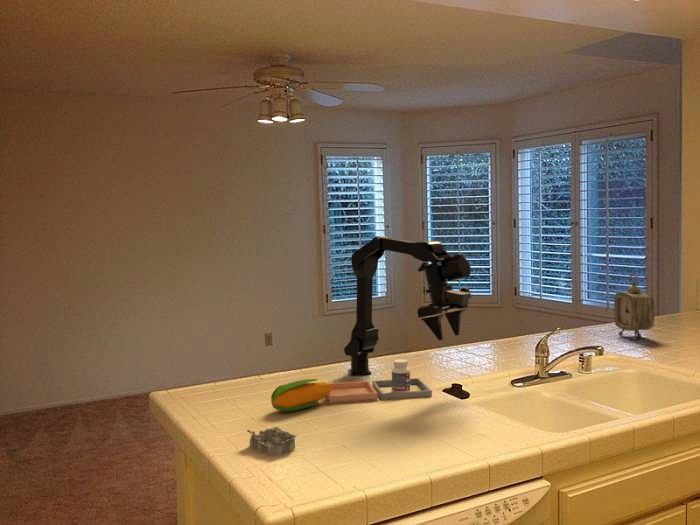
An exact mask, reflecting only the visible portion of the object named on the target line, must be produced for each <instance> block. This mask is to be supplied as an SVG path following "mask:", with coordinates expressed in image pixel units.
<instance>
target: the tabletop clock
mask: <svg viewBox="0 0 700 525" xmlns="http://www.w3.org/2000/svg"><path fill="white" fill-rule="evenodd" d="M632 277H635V278H636V279H637V283H636V281H635V280H634V281H631V278H632ZM628 282H629V284H631V286H629V287H628V288H627V289H626V292H625V291H624V292H616V293H615V296H614V303H613V304H614V306H613V312H614V313H613V314H614V315H613V317H614V324H615V325H616V327H617V328H618V329H620V331H618V335H619V336H623V334H624V331H634V336H633V337H632V340H633V341H637V340H638V339H639V338H641V337H642V334H641V333H640V331H648V330H651V329H652V328H654V325H655V300H654V298H653V297H652V296H650V295H649V294H647V293H644V292H642V289H641V288H640V287H639V286H638V285H640V284H639V283H640V278H639V276H638V275H637V274H630V275H629V278H628ZM621 329H622V330H621Z"/></svg>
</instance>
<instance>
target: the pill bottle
mask: <svg viewBox="0 0 700 525" xmlns="http://www.w3.org/2000/svg"><path fill="white" fill-rule="evenodd" d="M408 365H409V364H408V360H407V359H403V358H401V359H399V358H398V359H394V360H393V366H394V367H393V368H392V369H391V380H392V386H391V391H392V393H393V392H408V391H411V384H410V379H411V371H410V368H409V367H408Z"/></svg>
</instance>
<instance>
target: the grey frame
mask: <svg viewBox="0 0 700 525" xmlns="http://www.w3.org/2000/svg"><path fill="white" fill-rule="evenodd" d="M371 385H372V386H373V388H374V389H375V391H376V392H377V396H379V398H380V399H381V400H393V399H395V400H396V399H397V398H398V399H409V398H410V397H411V398H412V397H413V398H425V397H426V396H427V397H433V393H432V392H433V391H432V389H431V388H429V387H428V385H427V384H426V383H424V381H423V380H422V379H421V378H419V377H413V378H411V377H410V385H418V386H419V387H420V388H421V389H422V390H413V391H412V390H410V391H408V392H393V391H392V392H384V391H382V389H381V388H380V387H390V386H391V387H392V379H382V380H381V379H380V380H379V379H378V380H372V381H371ZM427 397H426V398H427ZM411 398H410V399H411ZM413 398H412V399H413Z"/></svg>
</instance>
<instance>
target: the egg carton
mask: <svg viewBox="0 0 700 525" xmlns="http://www.w3.org/2000/svg"><path fill="white" fill-rule="evenodd" d="M246 433H249V434H251V435H250V438H249V447H250V449H252V450H253V449H257V450H258V452H259V453H267V456H268V457H270V456H271V457H278V456H279V457H281V455H282V454H283V453H294V452H295V449H296V442H295V441H296V437H297V436H298V434H296V435H295V434H292V433H290V432H289V431H286V430H282V429H281V428H279V427H277V426H275V427H271V428H266V429H265V430H264V431H263V430H260V431H259V432H258V434H256V431H254V430H252V431H251V430H250V429H247V430H246ZM265 441H266V442H265ZM269 441H270V443H269ZM282 452H283V453H282Z"/></svg>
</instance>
